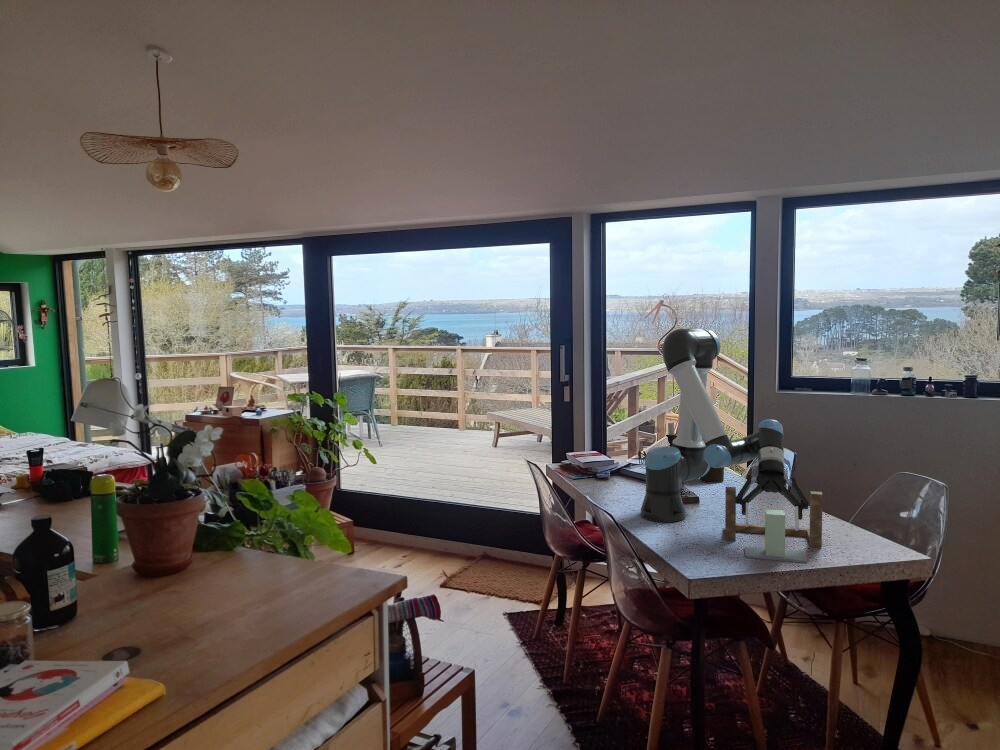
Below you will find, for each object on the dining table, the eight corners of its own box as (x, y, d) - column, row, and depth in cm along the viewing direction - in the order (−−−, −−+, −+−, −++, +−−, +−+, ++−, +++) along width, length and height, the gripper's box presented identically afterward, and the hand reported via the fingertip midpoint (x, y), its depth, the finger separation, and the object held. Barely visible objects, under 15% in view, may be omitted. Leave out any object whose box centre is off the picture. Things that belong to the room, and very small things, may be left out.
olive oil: (728, 479, 288) (729, 420, 286) (719, 484, 280) (719, 424, 278) (704, 476, 295) (704, 418, 293) (694, 481, 287) (694, 422, 285)
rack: (725, 540, 211) (725, 489, 209) (725, 528, 222) (725, 480, 221) (821, 547, 202) (822, 494, 201) (816, 535, 214) (817, 484, 212)
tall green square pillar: (765, 555, 195) (766, 514, 194) (764, 549, 200) (765, 509, 199) (784, 557, 193) (785, 515, 192) (783, 551, 198) (783, 510, 197)
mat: (745, 557, 195) (745, 555, 195) (744, 548, 203) (744, 546, 203) (806, 562, 190) (806, 560, 190) (803, 553, 198) (803, 551, 198)
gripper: (728, 455, 214) (726, 516, 201) (816, 460, 205) (819, 524, 193) (728, 468, 219) (726, 528, 207) (814, 473, 211) (817, 536, 198)
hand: (771, 526), depth 200 cm, fingers open, 13 cm apart
